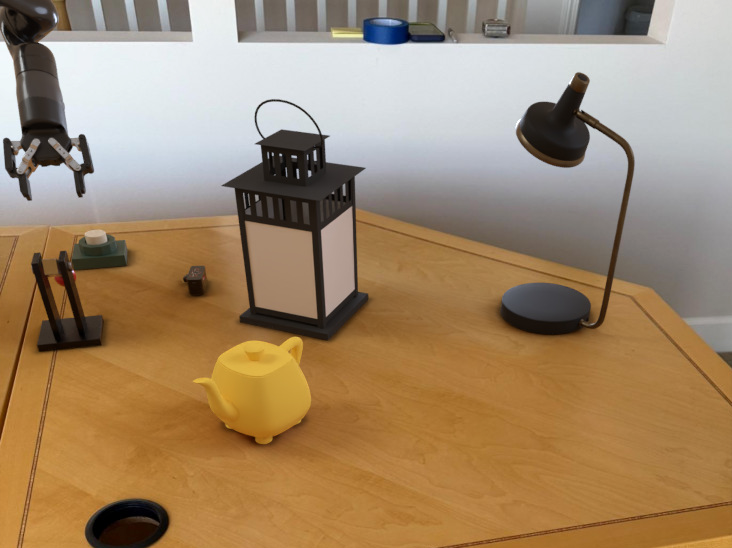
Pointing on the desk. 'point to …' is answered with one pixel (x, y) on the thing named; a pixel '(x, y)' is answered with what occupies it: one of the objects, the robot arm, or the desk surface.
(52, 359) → the desk surface
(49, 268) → the switch lever
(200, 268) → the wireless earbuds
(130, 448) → the desk surface
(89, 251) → the lamp box
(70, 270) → the switch bracket
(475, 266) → the desk surface
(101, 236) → the button
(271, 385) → the teapot
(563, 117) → the lamp
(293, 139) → the lantern
